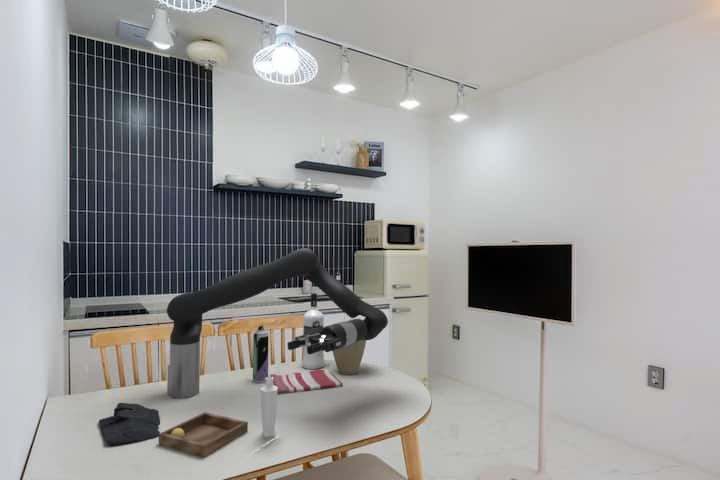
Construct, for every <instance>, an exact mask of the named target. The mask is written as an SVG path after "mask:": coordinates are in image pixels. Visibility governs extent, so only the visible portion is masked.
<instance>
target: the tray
mask: <svg viewBox="0 0 720 480" xmlns="http://www.w3.org/2000/svg"><path fill="white" fill-rule="evenodd" d="M248 424H249V423H248V421H244V420H239V419H237V418H231V417H227V416H223V415H218V414H214V413H209V412H207V411H205V412H202V413H200V414H197V415H196V416H193V417H192V418H190V419H187V420H185V421H183V422H181V423H179V424H176V425H174V426H172V427H171V428H168V429H166V430H164V431H163V432H160V434H159V437H158V445H160V446H164V447H165V448H169V449H174V450H176V451H180V452H184V453H187V454H190V455H194V456H197V457H200V458H204V459H205V458H207V457H209V456H210V455H211V454H213V453H215V452H216V451H218V450H220V449H222V448H223V447H225V446H227V445H228V444H230V443H231V442H234V441H235V440H236V439H238V438H240V437H241V436H243V435H244V434H246V433H248V426H249V425H248ZM176 428H181V429H183V431H184V438H181V437H177V436H174V435H171V432H172V431H173V430H174V429H176Z"/></svg>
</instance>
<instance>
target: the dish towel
mask: <svg viewBox="0 0 720 480" xmlns="http://www.w3.org/2000/svg"><path fill="white" fill-rule="evenodd" d="M269 377H274V378H273V385H275V386H277V387H278V390H277V395H281V394H282V395H283V394H292V393H299V392H300V393H302V392H309V391H315V390H326V389H334V388H340V387H343V385H344V384H343V382H342V381H341V380H339V379H338V378H337V377H336V376H335V375H334V374H333V373H332V372H331V371H330V370H329V369H314V370H311V371H310V370H309V371H307V372H306V371H305V372H293V373H289V374H279V375H278V374H275V373H272V374H271V373H270V375H269Z"/></svg>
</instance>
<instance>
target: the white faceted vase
mask: <svg viewBox="0 0 720 480" xmlns="http://www.w3.org/2000/svg"><path fill="white" fill-rule="evenodd" d="M273 378H274V377H270V376H268V377H267V378H265V379H266V382H265V385H264V386H262V387H261V388H259V390H260V408H261V423H262V424H261V426H262V431H261V435H262V436H263V437H265V438H267V437H272V439H275V438H276V436H275V435H276V429H275V428H276V417H277V415H276V413H277V403H278V402H277V401H278V394H277V390H278V387H277V386H275V385H273Z"/></svg>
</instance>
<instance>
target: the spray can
mask: <svg viewBox="0 0 720 480" xmlns="http://www.w3.org/2000/svg"><path fill="white" fill-rule="evenodd" d="M269 335H270V334H269V331H267V330H266V329H265V328H264V325H260V326H258V328H257V329H256V330H255V331H254V332H253V335H252V337H253V338H252V342H253V343H252V382H253V383H255V384H261V383H262V384H264V383H266V379H265V378H267V377H269Z"/></svg>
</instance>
